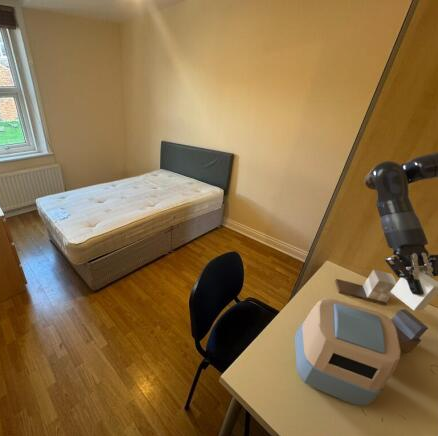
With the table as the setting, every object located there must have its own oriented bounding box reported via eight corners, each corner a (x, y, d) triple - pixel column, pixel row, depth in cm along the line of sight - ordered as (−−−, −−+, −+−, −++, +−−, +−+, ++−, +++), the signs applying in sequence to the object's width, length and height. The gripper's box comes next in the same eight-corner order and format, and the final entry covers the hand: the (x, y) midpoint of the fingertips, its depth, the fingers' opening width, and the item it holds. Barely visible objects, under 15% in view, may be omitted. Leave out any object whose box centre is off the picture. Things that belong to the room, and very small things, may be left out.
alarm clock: (293, 385, 64) (324, 334, 53) (291, 334, 77) (315, 285, 66) (369, 417, 58) (423, 368, 46) (352, 356, 71) (391, 305, 59)
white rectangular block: (399, 291, 68) (416, 268, 63) (423, 309, 62) (444, 285, 57) (390, 291, 67) (407, 268, 63) (413, 310, 62) (434, 286, 57)
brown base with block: (378, 292, 93) (391, 273, 87) (385, 305, 87) (399, 286, 82) (335, 280, 98) (345, 262, 93) (338, 292, 92) (349, 274, 87)
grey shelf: (387, 330, 78) (405, 307, 72) (410, 352, 72) (432, 329, 66) (337, 333, 77) (352, 311, 72) (356, 356, 71) (374, 333, 65)
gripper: (392, 228, 61) (416, 296, 56) (442, 225, 62) (469, 293, 57) (365, 233, 68) (384, 295, 64) (410, 231, 69) (432, 291, 64)
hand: (424, 293), depth 60 cm, fingers closed on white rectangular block, 3 cm apart
